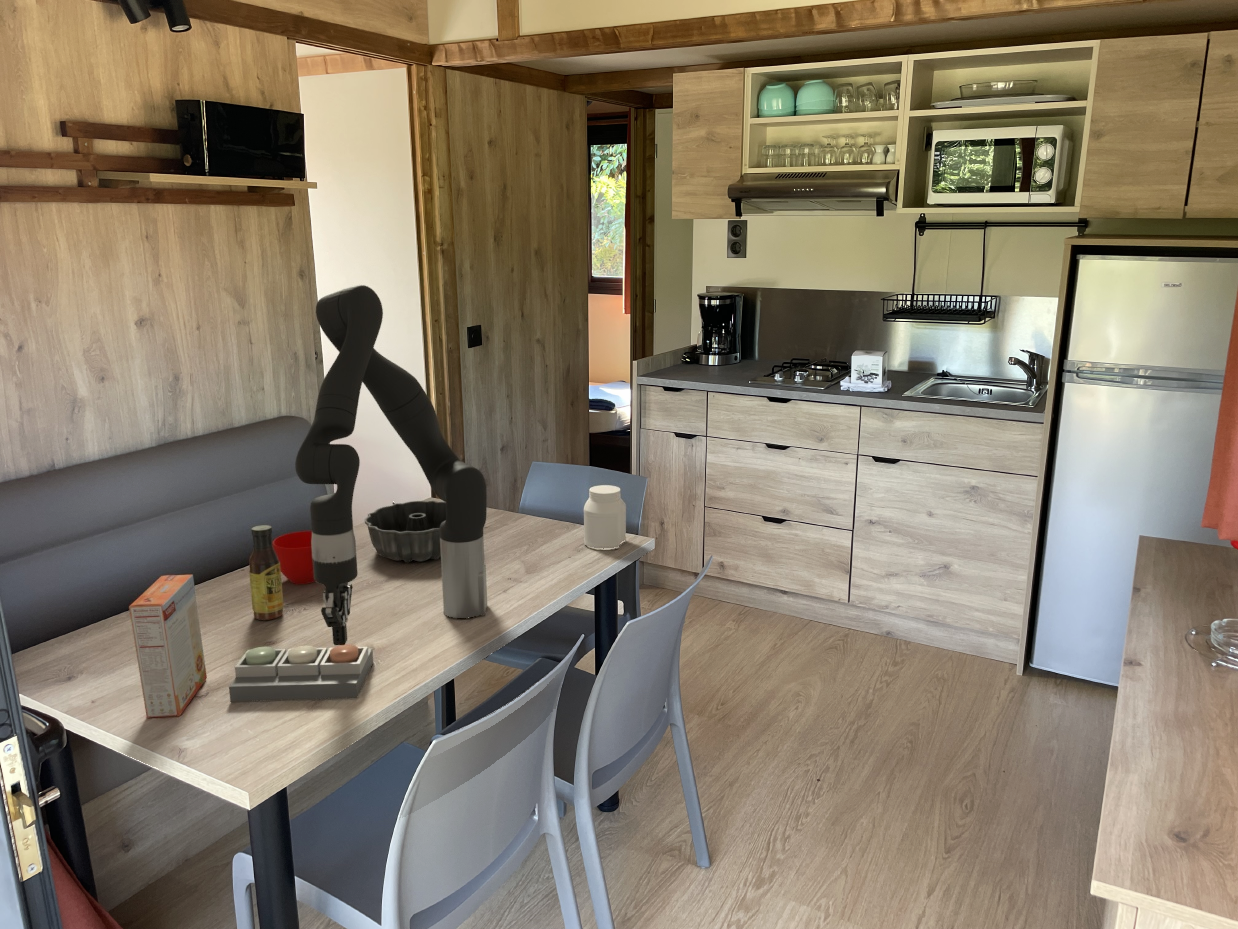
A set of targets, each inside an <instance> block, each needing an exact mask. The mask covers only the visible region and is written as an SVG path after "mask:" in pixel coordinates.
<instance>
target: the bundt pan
mask: <svg viewBox="0 0 1238 929" xmlns="http://www.w3.org/2000/svg"><path fill="white" fill-rule="evenodd" d="M444 521H446V502H445V501H437V500H432V499H431V500H428V501H427V500H411V501H406V502H402V503H401V502H399V503H398V502H397V503H396V502H395V503H394V504H391V505H385V506H382V507H380V508H376V509H375V510H374V511H373V512H370V513H367V516H366V518H364V524H366V526H367V530H368V533H369V538H370V541H371V545H372V547H373V548H374V550H375V552H376V553H378V555H379V556H380V557H383V558H385V559H386V558H387V559H390V560H392V561H402V560H403V561H404V563H410V562H412V561H413V560H414V561H417V562H426V561H427V560H429V559H432V560H433V559H435V560H434V561H436V560H438V559H440V558H441V550H440V525H441V523H442V522H444Z"/></svg>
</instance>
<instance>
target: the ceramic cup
mask: <svg viewBox="0 0 1238 929" xmlns="http://www.w3.org/2000/svg"><path fill="white" fill-rule="evenodd" d="M311 540H312V530H304V531H302V530H301V531H294V532H289V533H285V534H282V535H280V536H278V537H276V538H275V539H274V540H272V544H273V548H274V550H275V553H276V555H277V557H278V559H279V561H280V569H281V575H283V576H284V577H285V578H286V579H288V580H289V581H290V582H291V583H292V584H295V585H305V584H306V585H307V584H311V583H315V582H316V581H315V580H314V573H313V560H312V547H311Z"/></svg>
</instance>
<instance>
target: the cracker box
mask: <svg viewBox="0 0 1238 929" xmlns="http://www.w3.org/2000/svg"><path fill="white" fill-rule="evenodd" d="M128 611H129V616H130V622H131V628H132V633H133V640H134V647H135V653H136V659H137V666H138V667H137V668H138V672H139V677H140V684H141V690H142V691H141V692H142V698H143V702H144V708H145V709H144V710H145V715H146V716H145V717H146V718H147V719H148V718H149V719H151V718H168V717H180V716H181V714H183V712H184V710H185V709H186V708H187V706H188V705H189V704H190V702H191V700H193V698H194V696H195V695H196V694H197V692H199V689H200V688H201V687H202V685H203V684H204V683H205V682H206V680H207V669H206V663H205V662H206V661H205V654H204V648H203V640H202V638H203V637H202V633H201V632H202V631H201V626H200V625H201V624H200V617H199V609H198V602H197V594H196V588H195V580H194V574H179V575H178V574H177V575H175V574H167V575H161V576H160V577H159V578H158V579H157V580H156V581H155V582H154V583H152V584H151V585H150V586H149V587H148V588H147V589H146V590H145V591H144V592H143V593H142V594H141V595H140V596H138V597H137V599H136V600H134V601H133V602H132V603H131V604H130V605H129V606H128ZM150 717H151V718H150Z"/></svg>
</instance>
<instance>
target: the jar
mask: <svg viewBox="0 0 1238 929" xmlns="http://www.w3.org/2000/svg"><path fill="white" fill-rule="evenodd" d="M621 491H622V490H621V488H620V487H619V486H615V485H611V484H610V485H608V484H602V485H601V484H600V485H594V486H592V487H590V488H589V491H588V492H589V493H588V496H589V497H588V499H587V500H586V502H585V503H584V506H583V530H584V531H583V534H584V535H583V536H584V537H583V539H584V540H583V545H584V544H585V545H587V546H590V547H594V548H603V549H604V548H614V547H618V546H619V545H620V543H621V542H622V541H624V540H626V541H627V535H626V534H627V532H626V531H627V530H626V529H627V524H626V523H627V517H626V516H627V514H626V513H627V512H626V511H627V505H626V503H625V502H624V500H623V499H622V498H621ZM585 545H584V546H585ZM620 546H621V545H620Z"/></svg>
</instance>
